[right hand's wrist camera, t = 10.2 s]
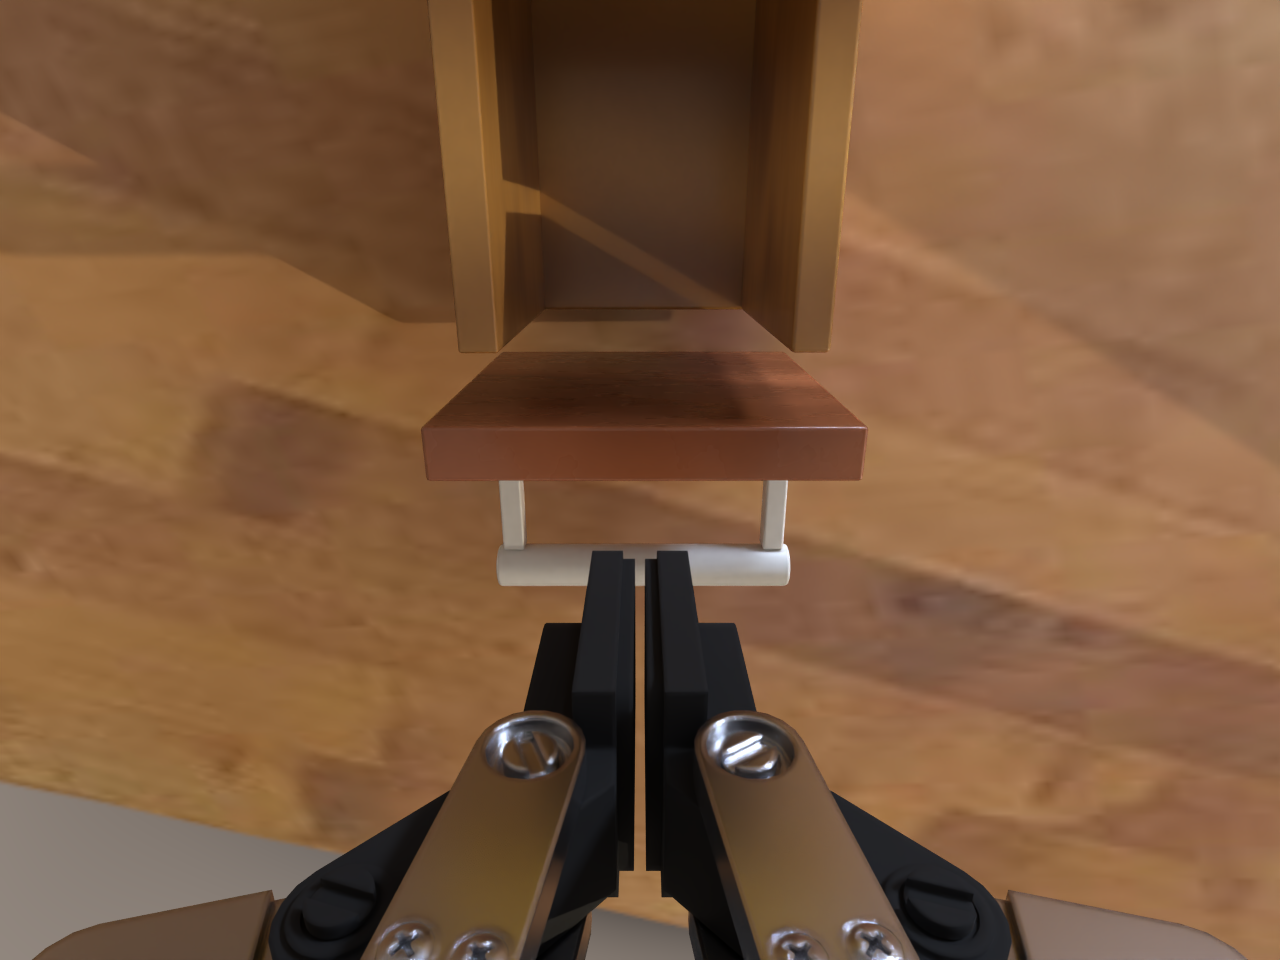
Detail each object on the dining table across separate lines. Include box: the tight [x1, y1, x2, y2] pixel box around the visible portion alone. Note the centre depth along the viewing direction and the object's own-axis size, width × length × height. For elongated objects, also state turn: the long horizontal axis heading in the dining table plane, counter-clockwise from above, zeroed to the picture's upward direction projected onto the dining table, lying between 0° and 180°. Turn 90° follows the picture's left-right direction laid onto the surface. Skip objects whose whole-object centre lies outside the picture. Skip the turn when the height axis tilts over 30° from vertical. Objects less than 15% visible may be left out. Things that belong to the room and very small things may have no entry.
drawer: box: [421, 0, 868, 586], centre depth 17 cm, size 20×9×9 cm, turn 0°
